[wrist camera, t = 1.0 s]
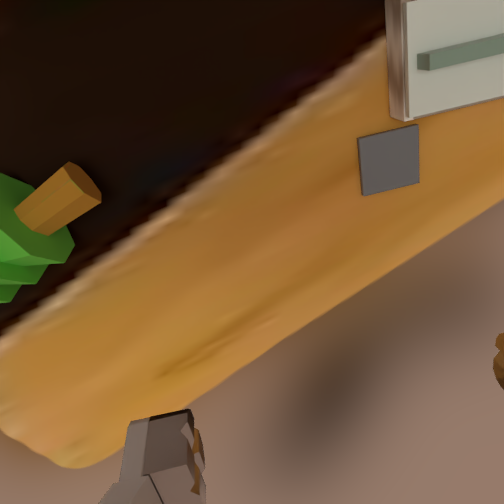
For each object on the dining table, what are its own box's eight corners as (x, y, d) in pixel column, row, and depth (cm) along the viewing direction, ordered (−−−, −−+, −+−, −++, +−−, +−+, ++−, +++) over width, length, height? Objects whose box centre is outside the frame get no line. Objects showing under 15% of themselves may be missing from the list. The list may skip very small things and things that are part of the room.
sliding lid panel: (403, 3, 38) (419, 0, 36) (555, -33, 39) (583, -39, 36) (406, 117, 43) (421, 122, 40) (541, 84, 44) (565, 87, 41)
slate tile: (357, 138, 47) (359, 139, 47) (415, 123, 48) (418, 124, 47) (361, 194, 51) (363, 196, 50) (416, 181, 51) (419, 182, 50)
